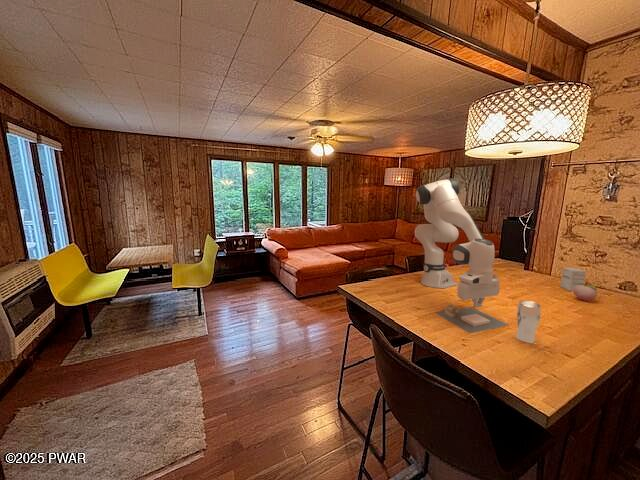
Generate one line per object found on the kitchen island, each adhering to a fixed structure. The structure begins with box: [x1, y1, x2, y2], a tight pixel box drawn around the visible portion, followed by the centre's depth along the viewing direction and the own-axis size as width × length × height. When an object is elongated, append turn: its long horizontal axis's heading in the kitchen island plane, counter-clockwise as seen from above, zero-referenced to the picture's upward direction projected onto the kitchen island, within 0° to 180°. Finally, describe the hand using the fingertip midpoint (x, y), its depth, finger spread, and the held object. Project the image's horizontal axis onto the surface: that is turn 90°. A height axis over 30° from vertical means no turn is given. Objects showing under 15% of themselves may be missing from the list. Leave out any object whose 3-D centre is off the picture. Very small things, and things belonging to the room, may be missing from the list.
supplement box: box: [560, 267, 587, 292], centre depth 157 cm, size 7×7×13 cm
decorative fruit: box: [572, 282, 598, 302], centre depth 139 cm, size 9×8×10 cm
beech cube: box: [444, 304, 460, 317], centre depth 123 cm, size 4×4×4 cm
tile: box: [461, 314, 490, 327], centre depth 116 cm, size 2×7×9 cm
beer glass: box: [515, 300, 542, 345], centre depth 100 cm, size 7×7×15 cm
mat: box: [435, 306, 510, 334], centre depth 119 cm, size 22×20×1 cm
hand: (477, 306), depth 115 cm, fingers closed
